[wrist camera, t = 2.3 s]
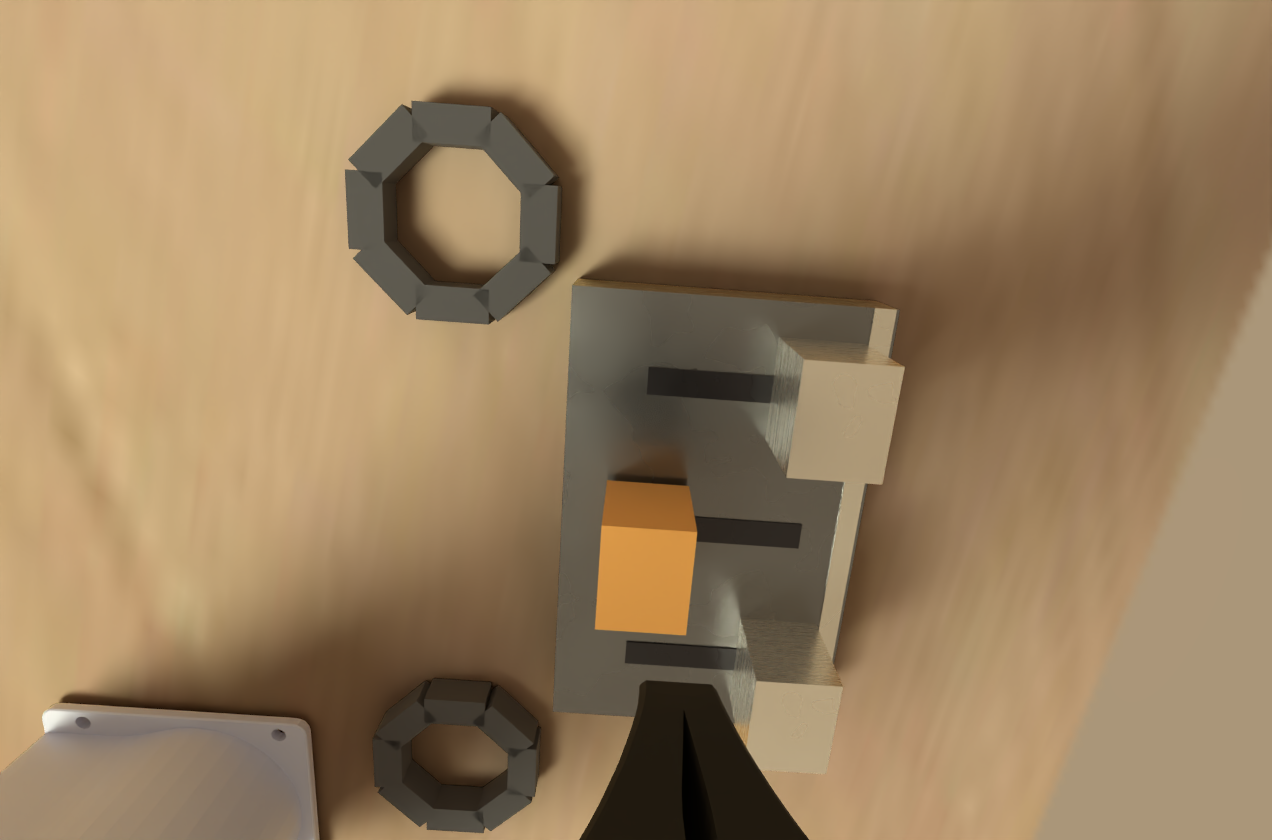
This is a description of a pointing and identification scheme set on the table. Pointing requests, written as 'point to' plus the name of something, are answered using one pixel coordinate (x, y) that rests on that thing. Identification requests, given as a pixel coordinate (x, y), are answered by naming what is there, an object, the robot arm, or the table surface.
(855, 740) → the table surface
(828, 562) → the breaker strip
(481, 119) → the coil
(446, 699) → the coil
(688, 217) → the table surface
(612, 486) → the orange breaker switch
